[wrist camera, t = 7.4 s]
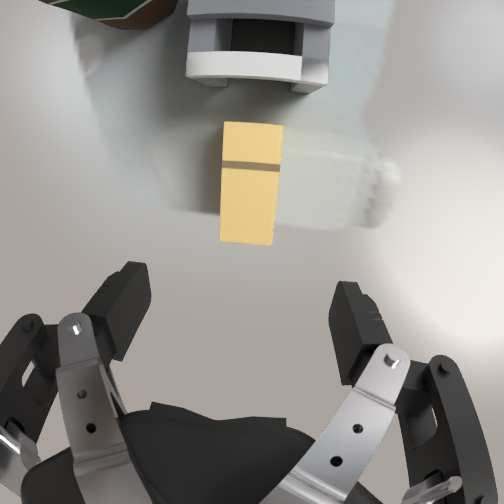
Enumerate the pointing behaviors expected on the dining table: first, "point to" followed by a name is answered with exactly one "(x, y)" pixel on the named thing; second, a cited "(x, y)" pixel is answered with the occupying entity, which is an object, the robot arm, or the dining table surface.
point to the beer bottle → (120, 11)
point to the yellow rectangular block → (249, 181)
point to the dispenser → (257, 63)
